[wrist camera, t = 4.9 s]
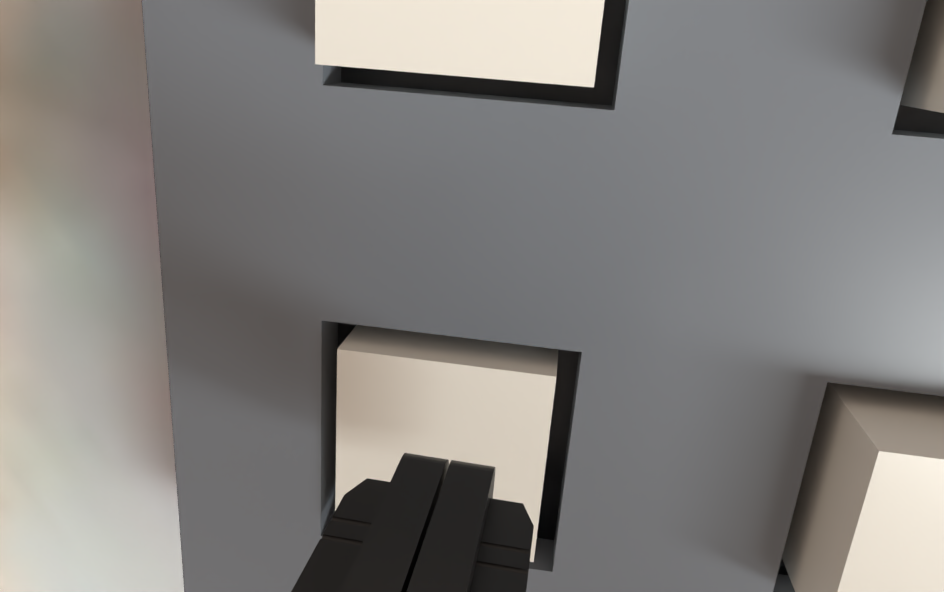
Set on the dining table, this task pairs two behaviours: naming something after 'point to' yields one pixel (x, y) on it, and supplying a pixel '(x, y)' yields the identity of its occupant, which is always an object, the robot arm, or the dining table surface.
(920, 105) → the button
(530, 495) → the button
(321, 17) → the button
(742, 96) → the button box
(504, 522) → the robot arm
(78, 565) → the dining table surface
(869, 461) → the button
